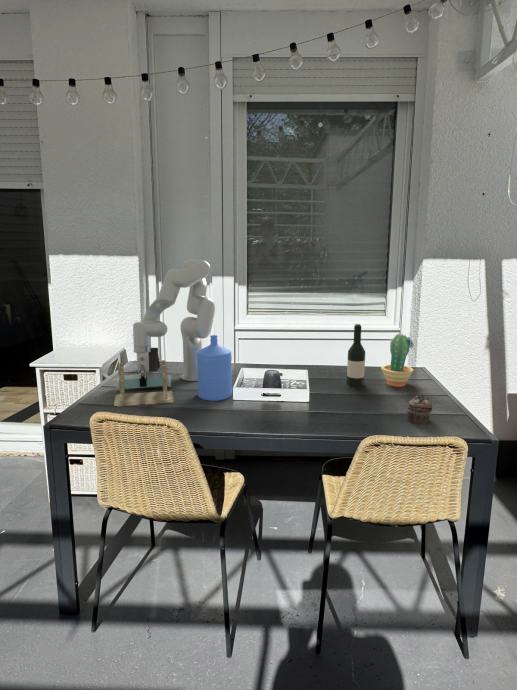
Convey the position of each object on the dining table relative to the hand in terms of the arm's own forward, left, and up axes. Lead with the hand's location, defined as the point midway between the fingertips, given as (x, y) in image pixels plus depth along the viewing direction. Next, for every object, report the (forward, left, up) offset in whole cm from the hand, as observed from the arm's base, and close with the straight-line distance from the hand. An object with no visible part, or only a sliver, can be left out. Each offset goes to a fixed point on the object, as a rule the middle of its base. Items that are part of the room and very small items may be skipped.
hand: (143, 383), depth 232 cm
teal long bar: (0, 0, -3) cm, 3 cm away
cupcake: (-107, +64, -3) cm, 125 cm away
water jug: (-32, +17, -3) cm, 36 cm away
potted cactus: (-122, +18, -3) cm, 123 cm away
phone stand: (-5, -36, -3) cm, 37 cm away
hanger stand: (0, +16, -3) cm, 16 cm away
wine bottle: (-102, +14, -3) cm, 103 cm away
